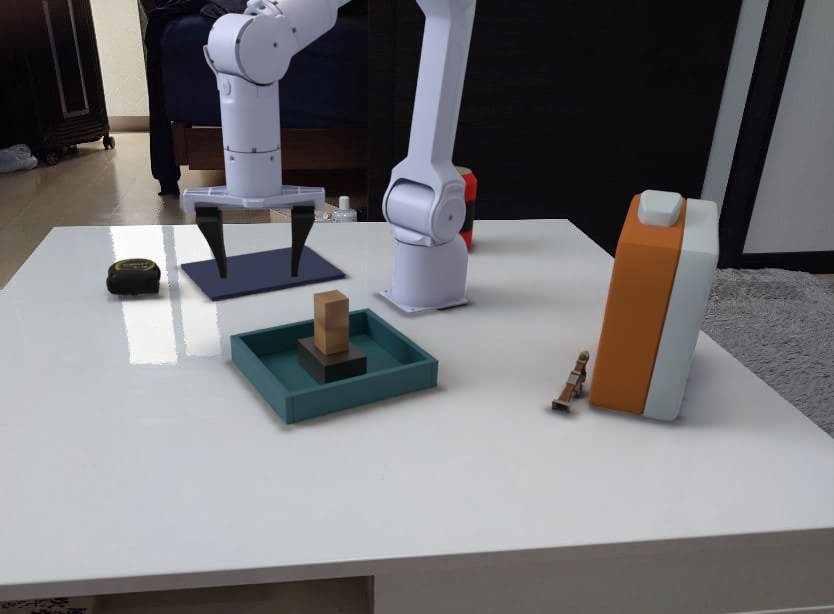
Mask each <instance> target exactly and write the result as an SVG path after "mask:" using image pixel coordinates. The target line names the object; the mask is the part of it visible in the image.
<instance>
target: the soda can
mask: <svg viewBox="0 0 834 614" xmlns="http://www.w3.org/2000/svg"><path fill="white" fill-rule="evenodd" d="M454 167H455V168H456V169H457V171H458V172H459V174H460V175H461V176H462V178H463V179H464V181H465V183H466V185H465V192H464V200H465V206H466V215H465V220H464V223H463V226H462V228H461V230H460V231H459V233H458V234H460V235H461V236H462V238H463V239H464V241H465V243H466V246H467V251H469V250H470V249H471V248H472V242H473V230H474V220H475V209H476V197H477V186H478V179H477V178H476V176H475V174H473V171H472V170H471V169H470V168H467V167H463V166H457V165H456V166H455V165H454Z"/></svg>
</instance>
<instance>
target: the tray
mask: <svg viewBox="0 0 834 614" xmlns="http://www.w3.org/2000/svg"><path fill="white" fill-rule="evenodd" d="M313 336H314V318H311V319H305V320H300V321H295V322H291V323H286V324H281V325H275V326H270V327H265V328H261V329H256V330H251V331H250V330H249V331H244V332H241V333H236V334H231V335H230V336H229V341H230V351H231V352H230V353H231V361H232V362H233V363H234V364H235V365H236V367H237V368H238V370H240V372H241V373H242V374H243V375H244V377H246V379H247V380H248V381H249V382H250V383H251V385H252V386H253V387H254V388H255V389H256V391H257V392H258V393H259V395H261V397H263V399H264V400H265V401H266V402H267V404H268V405H269V406H270V407H271V408H272V409H273V411H274V412H275V413H276V414H277V415H278V417H279V418H280V419H281V420H282V422H284V424H285V425H290V424H294V423H298V422H302V421H306V420H310V419H314V418H317V417H318V418H319V417H321V416H326V415H329V414H333V413H336V412H341V411H345V410H348V409H352V408H356V407H360V406H364V405H368V404H372V403H375V402H380V401H383V400H387V399H392V398H395V397H398V396H403V395H407V394H411V393H415V392H418V391H423V390H426V389H430V388H435V387H437V386H438V377H439V375H438V374H439V373H438V372H439V361H440V360H439V359H437V358H436V357H435V356H433V355H432V354H430V353H429V352H428V351H427V350H425V349H424V348H423V347H421V346H420V345H418V344H417V343H416V342H415V341H413V340H412V339H411V338H409V337H408V336H406V335H405V334H404V333H402V332H401V331H400V330H398V329H397V328H396V327H395V326H393V325H392V324H391V323H389V322H388V321H387V320H385V319H384V318H382V317H381V316H380V315H378V314H377V313H376V312H375V311H373V310H372V309H370V308H369V307H367V308H366V307H365V308H361V309H355V310H351V311H350V310H349V341H350V342H351V343H352V344H353V345H354V346H356V347H357V348H358V349H359V350H360V351H361V352H363V353H364V354H365V355H366V356H367V374H365V375H361V376H357V377H353V378H349V379H344V380H340V381H336V382H332V383H328V384H324V385H319V384H318V383H317V382H316V381H315V380H314V379H313V378H312V377H311V376H310V375H309V374H308V373H307V372H306V371H305V370H304V369H303V368H302V367H301V366H300V365H299V364H298V339H303V338H308V337H313Z"/></svg>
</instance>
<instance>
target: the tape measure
mask: <svg viewBox="0 0 834 614" xmlns="http://www.w3.org/2000/svg"><path fill="white" fill-rule="evenodd" d="M161 277H162V270H161V268H160V267H159V266H158V264H157V262H155V261H153V259H149V258H142V257H137V258H135V257H134V258H125V259H120V260H118V261H115V262H113V263H112V264H111V265H110V266H109V267H108V269H107V277H106V280H105V284H106V285H105V286H106V290H107V291H108V292H109V293H110V294H112V295H114V296H115V295H116V296H131V297H136V296H139V295H149V294H151V295H153V294H154V295H155V294H159V293H160V285H161Z"/></svg>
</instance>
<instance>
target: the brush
mask: <svg viewBox="0 0 834 614" xmlns="http://www.w3.org/2000/svg"><path fill="white" fill-rule="evenodd" d="M349 312H350V298H349V297H348V296H347V295H345V293H343V292H341V291H340V290H338V289H332V290H328V291H322V292H316V293H313V319H314V336H313V337H308V338H303V339H298V364H299V365H300V366H301V367H302V368H303V369H304V370H305V371H306V372H307V373H308V374H309V375H310V376H311V377H312V378H313V379H314V380H315V381H316V382H317V383H318V384H319V385H324V384H328V383H332V382H336V381H340V380H344V379H349V378H353V377H357V376H361V375H365V374H367V356H366V355H365V354H364V353H363V352H361V351H360V350H359V349H358V348H357V347H356V346H354V345H353V344H352V343H351V342H350V341H349Z"/></svg>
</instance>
